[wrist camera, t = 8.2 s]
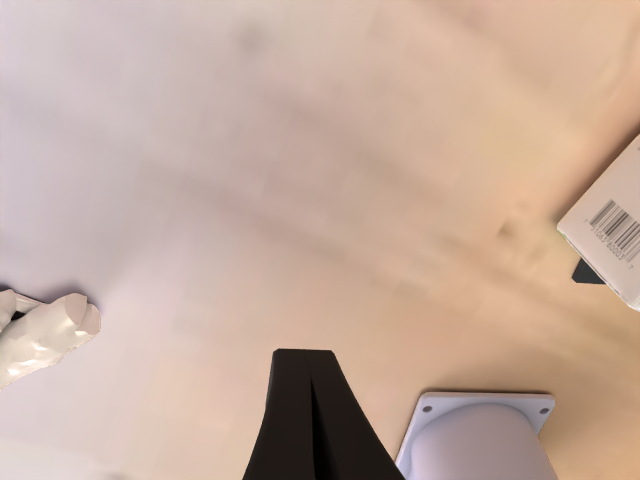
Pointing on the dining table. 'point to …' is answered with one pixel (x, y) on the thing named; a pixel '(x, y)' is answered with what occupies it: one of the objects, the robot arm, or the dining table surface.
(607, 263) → the syrup box
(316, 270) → the dining table surface
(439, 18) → the dining table surface
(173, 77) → the dining table surface
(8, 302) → the white creature statuette
